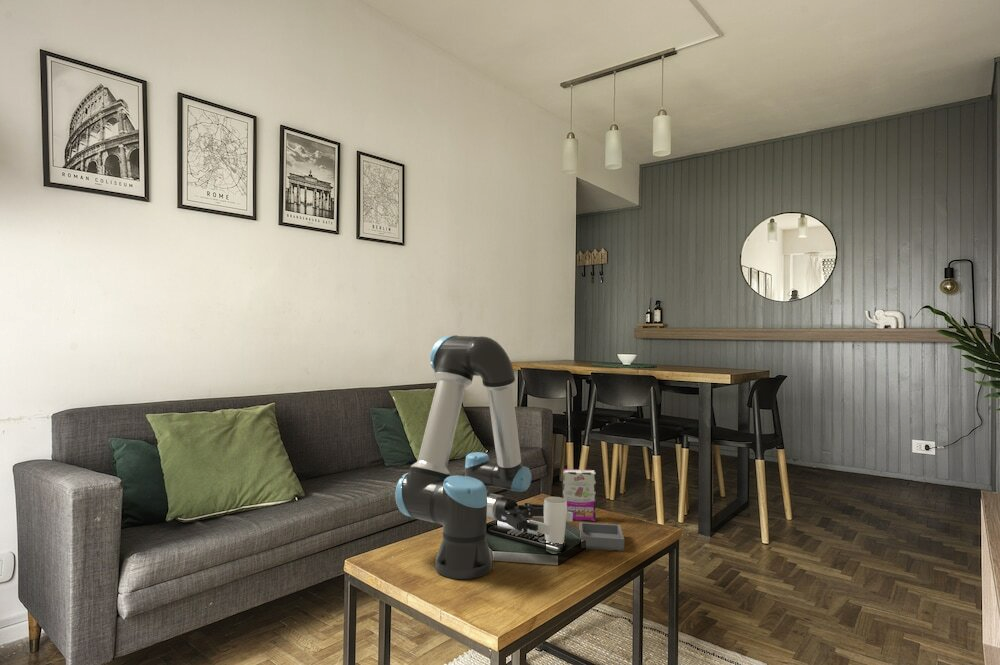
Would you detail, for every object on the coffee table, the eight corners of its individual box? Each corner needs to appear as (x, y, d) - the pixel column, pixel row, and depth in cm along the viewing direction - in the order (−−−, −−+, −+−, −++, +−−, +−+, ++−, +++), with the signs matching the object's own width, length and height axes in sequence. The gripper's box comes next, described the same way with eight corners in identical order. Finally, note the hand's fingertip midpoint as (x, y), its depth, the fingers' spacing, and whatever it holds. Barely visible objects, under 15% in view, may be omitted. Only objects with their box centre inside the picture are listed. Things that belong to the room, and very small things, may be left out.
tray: (580, 548, 165) (580, 536, 165) (579, 533, 177) (579, 522, 177) (624, 551, 163) (624, 539, 163) (619, 535, 176) (619, 524, 176)
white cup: (565, 548, 165) (566, 497, 165) (566, 557, 158) (567, 504, 158) (542, 546, 166) (543, 496, 166) (542, 555, 159) (543, 502, 159)
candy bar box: (594, 517, 194) (595, 469, 194) (595, 521, 189) (596, 473, 189) (562, 515, 195) (563, 468, 195) (562, 520, 190) (563, 471, 190)
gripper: (522, 510, 184) (580, 524, 172) (476, 531, 164) (537, 549, 151) (523, 487, 184) (581, 500, 172) (476, 505, 164) (538, 521, 151)
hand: (560, 523), depth 162 cm, fingers open, 13 cm apart
